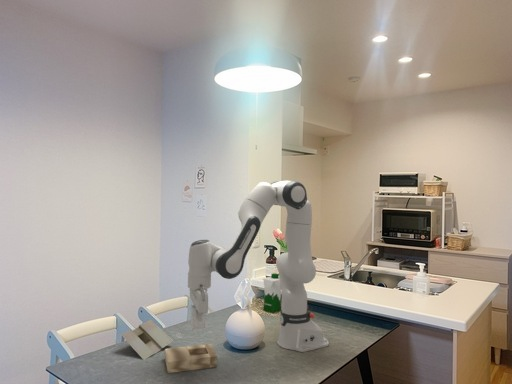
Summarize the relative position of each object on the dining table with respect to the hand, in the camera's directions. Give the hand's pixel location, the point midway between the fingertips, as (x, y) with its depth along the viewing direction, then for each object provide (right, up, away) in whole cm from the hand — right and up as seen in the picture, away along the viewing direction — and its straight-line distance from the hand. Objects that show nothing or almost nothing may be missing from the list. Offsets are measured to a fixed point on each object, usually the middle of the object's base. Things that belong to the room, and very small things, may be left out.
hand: (198, 317), depth 147 cm
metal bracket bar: (0, -4, 0) cm, 4 cm away
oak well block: (-3, -17, -1) cm, 17 cm away
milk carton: (+31, -18, +64) cm, 74 cm away
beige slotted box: (-23, -17, +11) cm, 30 cm away
